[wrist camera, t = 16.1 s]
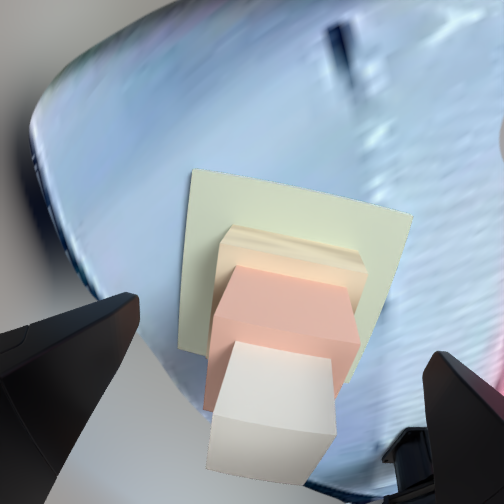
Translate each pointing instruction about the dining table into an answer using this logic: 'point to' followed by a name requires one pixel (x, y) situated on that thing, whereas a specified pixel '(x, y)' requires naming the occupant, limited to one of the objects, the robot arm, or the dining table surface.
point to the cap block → (272, 415)
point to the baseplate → (287, 223)
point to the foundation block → (286, 262)
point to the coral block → (281, 323)
